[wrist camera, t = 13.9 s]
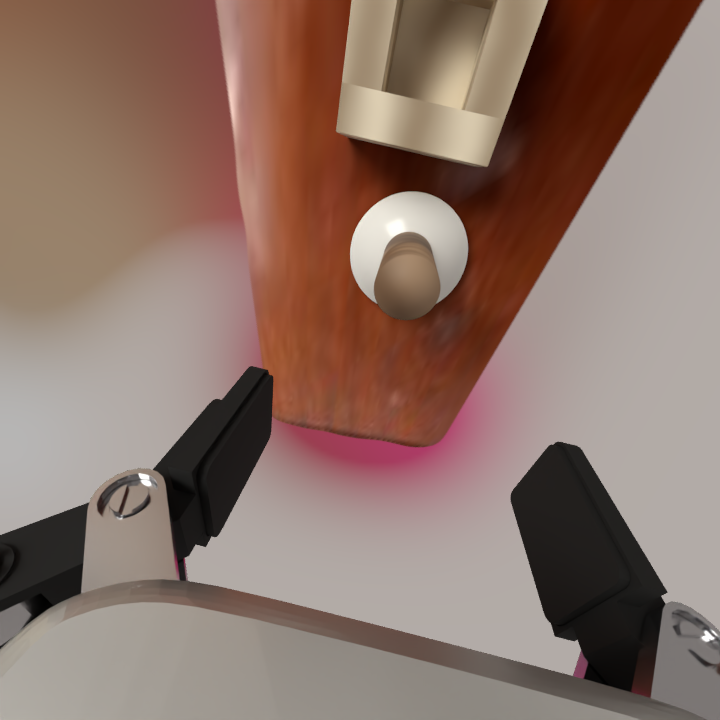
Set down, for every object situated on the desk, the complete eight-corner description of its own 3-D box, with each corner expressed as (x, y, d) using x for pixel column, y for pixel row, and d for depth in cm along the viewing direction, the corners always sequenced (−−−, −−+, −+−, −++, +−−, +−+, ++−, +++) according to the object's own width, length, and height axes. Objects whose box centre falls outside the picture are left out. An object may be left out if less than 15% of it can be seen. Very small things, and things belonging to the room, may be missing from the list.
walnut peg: (417, 221, 29) (420, 241, 21) (440, 265, 31) (452, 300, 23) (374, 249, 31) (361, 278, 23) (398, 289, 33) (394, 330, 25)
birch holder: (545, -36, 21) (579, -87, 17) (475, 167, 27) (487, 166, 23) (376, -74, 21) (367, -134, 17) (347, 137, 28) (336, 131, 23)
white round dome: (432, 162, 28) (433, 161, 27) (484, 273, 32) (487, 277, 31) (330, 236, 32) (327, 238, 31) (388, 324, 37) (387, 329, 36)
